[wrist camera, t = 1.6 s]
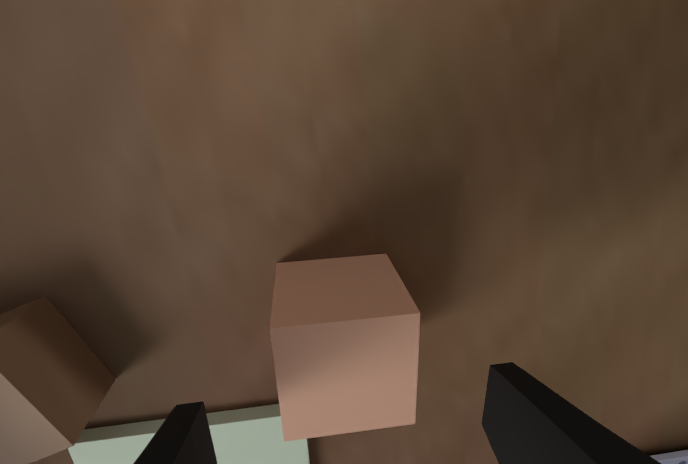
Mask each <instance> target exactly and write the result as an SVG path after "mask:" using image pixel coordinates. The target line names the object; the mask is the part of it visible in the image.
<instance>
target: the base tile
mask: <svg viewBox="0 0 688 464" xmlns="http://www.w3.org/2000/svg"><path fill="white" fill-rule="evenodd" d="M206 415H207V419H208V424H209V428H210V433H211V437H212V441H213V446H214V450H215V455H216V459H217V464H310V459H309V449H308V439H300V440H293V441H285V442H284V437H283V429H282V421H281V414H280V406H279V404H274V405H267V406H259V407H251V408H244V409H236V410H228V411H221V412H213V413H206ZM164 421H165V419H160V420H152V421H145V422H137V423H129V424H122V425H114V426H106V427H99V428H91V429H84V430H83V431H82V433H81V435H80V436H79V438H78V439H77V441H76V443H75V444H74V446H72V447H70V448H68V451H69V453H70V455H71V458H72V460H73V462H74V464H134V462H135V461H136V459H137V458H138V457H139V455H140V454H141V453H142V451H143V450H144V449H145V447H146V446H147V445H148V443H149V442H150V440H151V439H152V438H153V436H154V435H155V433H156V432H157V431H158V429H159V428H160V426H161V425H162V424H163V422H164Z"/></svg>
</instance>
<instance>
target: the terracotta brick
mask: <svg viewBox="0 0 688 464" xmlns="http://www.w3.org/2000/svg"><path fill="white" fill-rule="evenodd" d="M419 332H420V311H419V310H418V308H417V306H416V304H415V303H414V301H413V299H412V297H411V296H410V294H409V292H408V290H407V289H406V287H405V285H404V284H403V282H402V280H401V278H400V277H399V275H398V273H397V271H396V270H395V268H394V266H393V264H392V263H391V261H390V259H389V257H388V256H387V254H375V255H364V256H352V257H341V258H329V259H318V260H306V261H294V262H283V263H276V272H275V282H274V291H273V301H272V310H271V320H270V336H271V344H272V351H273V359H274V367H275V375H276V382H277V390H278V398H279V406H280V414H281V421H282V429H283V437H284V442H285V441H293V440H300V439H307V438H315V437H322V436H329V435H337V434H344V433H351V432H359V431H366V430H373V429H381V428H388V427H395V426H403V425H410V424H415V416H416V395H417V374H418V353H419Z"/></svg>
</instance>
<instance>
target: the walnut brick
mask: <svg viewBox="0 0 688 464" xmlns="http://www.w3.org/2000/svg"><path fill="white" fill-rule="evenodd" d="M114 380H115V377H114V376H113V375H112V374H111V373H110V371H109V370H108V369H107V368H106V367H105V365H104V364H103V363H102V362H101V361H100V360H99V358H98V357H97V356H96V355H95V354H94V352H93V351H92V350H91V349H90V348H89V347H88V345H87V344H86V343H85V342H84V341H83V339H82V338H81V337H80V336H79V335H78V333H77V332H76V331H75V330H74V329H73V328H72V326H71V325H70V324H69V323H68V322H67V320H66V319H65V318H64V317H63V316H62V315H61V313H60V312H59V311H58V310H57V309H56V307H55V306H54V305H53V304H52V303H51V301H50V300H49V299H48V298H47V297H46V296H42V297H40V298H37V299H35V300H33V301H30V302H28V303H25V304H23V305H21V306H18V307H16V308H13V309H11V310H9V311H6V312H4V313H1V314H0V464H30V463H33V462H35V461H38V460H40V459H43V458H45V457H48V456H50V455H53V454H55V453H57V452H60V451H62V450H65V449H67V448H70V447H72V446H74V444H75V443H76V441H77V439H78V438H79V436H80V435H81V433H82V431H83V430H84V428H85V427H86V425H87V423H88V422H89V420H90V419H91V417H92V415H93V414H94V412H95V411H96V409H97V408H98V406H99V404H100V403H101V401H102V400H103V398H104V396H105V395H106V393H107V392H108V390H109V388H110V387H111V385H112V384H113V382H114Z"/></svg>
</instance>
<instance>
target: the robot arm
mask: <svg viewBox="0 0 688 464" xmlns="http://www.w3.org/2000/svg"><path fill="white" fill-rule="evenodd" d="M482 425H483V428H484V430H485V433H486V435H487V437H488V440H489V442H490V444H491V447H492V449H493V451H494V453H495V456H496V458H497V460H498V462H499V464H688V450H682V451H676V452H670V453H663V454H657V455H651V456H649V455H647V454H645V453H644V452H642V451H641V450H639V449H638V448H636V447H634V446H633V445H631V444H630V443H628V442H627V441H625V440H624V439H622V438H621V437H619V436H618V435H616V434H615V433H613V432H612V431H610V430H609V429H607V428H606V427H604V426H603V425H601V424H600V423H598V422H597V421H595V420H594V419H592V418H591V417H589V416H588V415H587V414H585V413H584V412H582V411H581V410H579V409H578V408H576V407H575V406H574V405H572V404H571V403H569V402H568V401H567V400H565V399H564V398H562V397H561V396H559V395H558V394H557V393H555V392H554V391H552V390H551V389H550V388H548V387H547V386H545V385H544V384H543V383H541V382H540V381H538V380H537V379H536V378H534V377H533V376H531V375H530V374H528V373H527V372H526V371H524V370H523V369H521V368H520V367H518V366H517V365H515V364H514V363H512V362H511V363H503V364H495V365H490V369H489V376H488V383H487V390H486V397H485V404H484V412H483V419H482ZM134 464H217V459H216V455H215V450H214V446H213V441H212V437H211V433H210V428H209V424H208V419H207V415H206V411H205V406H204V402H196V403H188V404H180V405H176V406H175V407H174V409H173V410H172V411H171V413H170V414H169V415H168V417H167V418H166V419H165V421H164V422H163V424H162V425H161V426H160V428H159V429H158V431H157V432H156V433H155V435H154V436H153V438H152V439H151V440H150V442H149V443H148V445H147V446H146V447H145V449H144V450H143V451H142V453H141V454H140V455H139V457H138V458H137V459H136V461H135V462H134Z"/></svg>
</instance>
